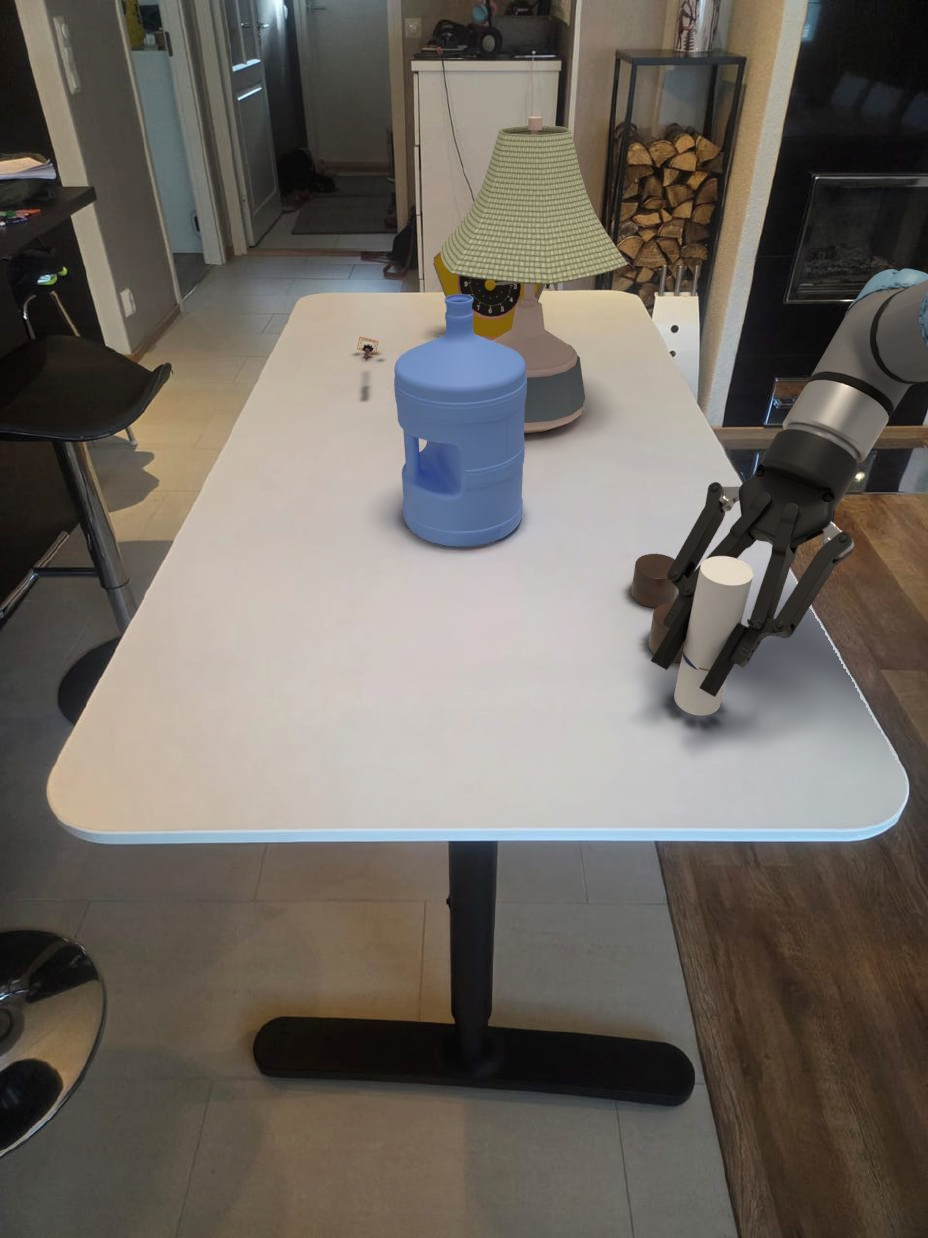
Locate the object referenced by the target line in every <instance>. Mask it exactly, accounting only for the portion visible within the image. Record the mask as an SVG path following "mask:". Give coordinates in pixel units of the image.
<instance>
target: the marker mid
mask: <svg viewBox="0 0 928 1238" xmlns="http://www.w3.org/2000/svg"><path fill="white" fill-rule="evenodd" d="M673 604H674V602H673V603H666V604H662V605H660V606H658V607H657V608H654V610H653V613H652V619H651V624H650V629H649V636H648V644H647V645H648V646H647V647H648V649H649V651H650V652H651V653H652V654H653V655H654V654H655V653H656V651H657V649H658V648H659V646H660V644H661V643H662V641H663V639H664V638H665V636H666V634H667V632H668V631H669V629H668V628H667V627H665V626H664V625H663V624H664V619H665V617H666V615H667V614H668V612H669V610H670V609H671V607H672V605H673ZM685 640H686V639H685ZM684 645H685V641H684V643H683V645H682V646H681V648H680V650H679V651H678V653H677V655H676V656H675V658H674V660H673V661H672V663H681V659H682V654H683V650H684Z"/></svg>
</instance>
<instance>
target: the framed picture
mask: <svg viewBox="0 0 928 1238" xmlns="http://www.w3.org/2000/svg"><path fill="white" fill-rule="evenodd" d="M364 341H366V342H369V344H363V342H364ZM370 343H372V344H370ZM378 345H379V340H375V339H372V338H367V337H363V336H359V338H358V344H357V347H356V350H357V351H361V352H364V354H363V356H364V357H365V358H369V356H370V354H374V355H376V353H377V352H378V351H377V350H378ZM362 346H363V347H362Z"/></svg>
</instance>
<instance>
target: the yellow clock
mask: <svg viewBox="0 0 928 1238" xmlns="http://www.w3.org/2000/svg"><path fill="white" fill-rule="evenodd" d="M432 264H433V267H434V271H435V272H436V275H437V278H438V282H439V284H440V286H441V289H442V291H443V294H444V298H446V297H447V296H450V295H456V294H464V295H469V296H472V297H473V303H472V312H473V314H474V318H473V331H474V333H475V334H476V335H478V336H481V337H483V338H486V339H489V340H491V341H493V340H494V339H496V338H498V337H499V336H501V335H503V334H504V333H506V332H508V331H509V330H511V329H512V324H513V319H514V313H515V307H516V304H517V303H518V302H521V298H523V297H524V284H522V283H512V282H502V281H493V280H485V279H477V278H471V277H465V276H459V275H454V274H452V273H451V272H450V271H449V270H448V269H447V268H446V267H445V265H444V263H443V261H442V258H441V250H440V251H439V252H437V254H436V255H434V256H433V263H432ZM545 285H546V284H535V298H537V302H540V298H541V296H542V294H543V291H544V289H545Z"/></svg>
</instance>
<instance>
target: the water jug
mask: <svg viewBox="0 0 928 1238" xmlns="http://www.w3.org/2000/svg"><path fill="white" fill-rule="evenodd" d="M444 303H445V308H446V310H445V313H444V319H445V332H444V334H443V335H441V336H438V337H436V338H434V339H431V340H429V341H426V342H424V343H421V344H419V345H417V346H415V347H412V348H411V349H408V350H407V351H405V352H404V353H402V354H401V355H400V356H399V357H398V358H397V360H396V361H395V364H394V371H393V372H394V379H393V389H394V398H395V403H396V413H397V422H398V424H399V427H400V428H401V429H402V431H403V445H404V459H405V460H404V462H405V463H404V464H403V466H402V469H401V485H402V497H403V498H402V513H403V514H402V515H403V519H404V522H405V525H406V526H407V527H408V529H409V530H410V531H411V532H412V533H414V534H415V535H416V536H418V537H419V538H421V539H423V540H425V541H427V542H430V543H433V544H435V545H441V546H446V547H452V548H453V547H457V548H466V547H467V548H469V547H470V548H471V547H477V546H483V545H487V544H491V543H494V542H497V541H499V540H501V539H503V538H505V537H507V536H509V535H510V534H511V533H512V532H513V531H515V529H516V528H517V527H518V526H519V524H520V522H521V520H522V518H523V511H524V508H523V506H524V499H523V478H524V477H523V476H524V475H523V473H524V463H525V454H526V453H525V451H526V450H525V448H526V446H525V445H526V443H525V433H524V418H525V400H526V394H527V376H526V363H525V360H524V359H523V357H522V356H521V355H520V354H519V353H518V352H516V351H515V350H513V349H511V348H509V347H507V346H504V345H502V344H499V343H496V342H494V341H491V340H489V339H486V338H483V337H481V336H478V335H476V334H475V333H474V331H473V318H474V314H473V312H472V303H473V297H472V296H469V295H464V294H456V295H450V296H447V297H444ZM420 440H423V441H426V443H425V446H424V448H423V449H421V450H420Z"/></svg>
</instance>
